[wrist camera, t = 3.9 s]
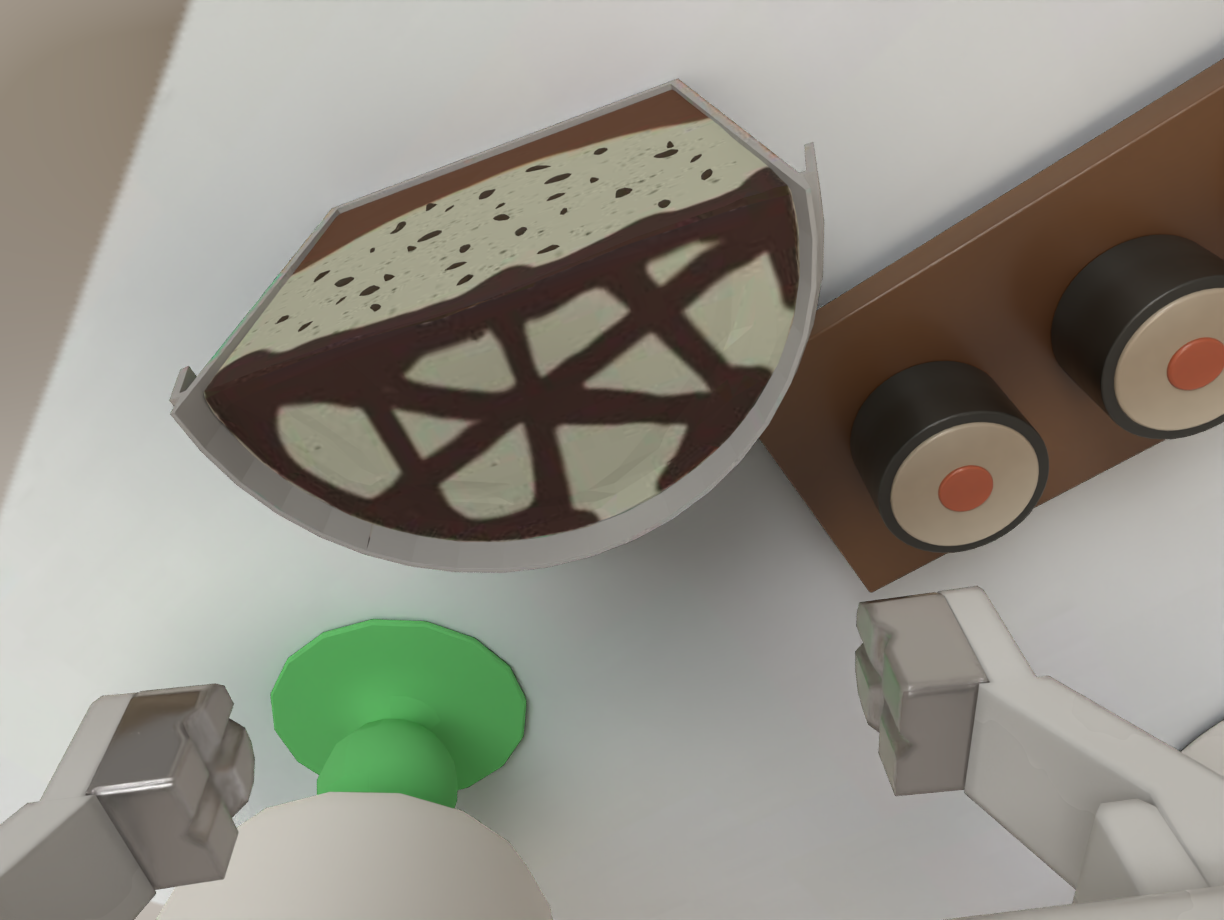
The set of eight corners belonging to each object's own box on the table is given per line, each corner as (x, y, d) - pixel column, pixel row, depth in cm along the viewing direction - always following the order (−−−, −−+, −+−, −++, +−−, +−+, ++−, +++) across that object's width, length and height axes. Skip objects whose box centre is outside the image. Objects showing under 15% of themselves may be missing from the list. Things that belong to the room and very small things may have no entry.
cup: (450, 874, 40) (402, 1391, 26) (133, 741, 35) (-126, 1302, 21) (669, 682, 34) (746, 1208, 21) (334, 491, 29) (157, 1029, 16)
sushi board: (1496, 210, 27) (1675, 278, 22) (853, 554, 32) (900, 662, 28) (1445, -100, 22) (1655, -88, 18) (713, 357, 28) (743, 449, 23)
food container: (386, 420, 28) (317, 666, 20) (279, 227, 25) (141, 423, 16) (794, 281, 26) (909, 484, 18) (736, 56, 23) (844, 176, 15)
